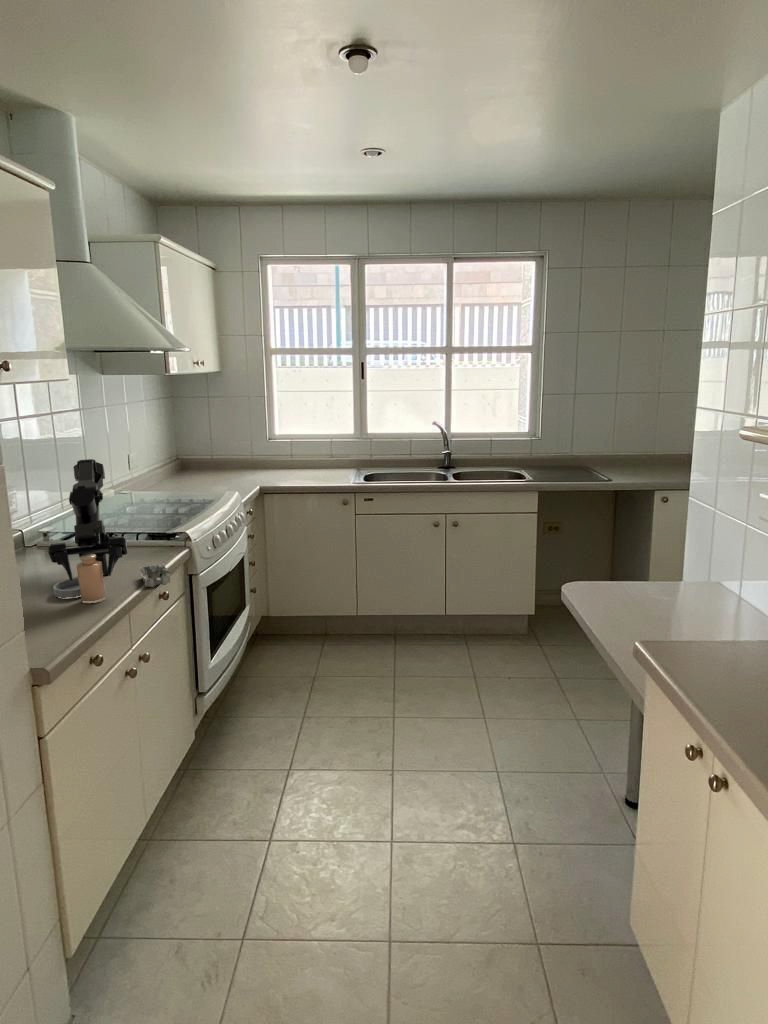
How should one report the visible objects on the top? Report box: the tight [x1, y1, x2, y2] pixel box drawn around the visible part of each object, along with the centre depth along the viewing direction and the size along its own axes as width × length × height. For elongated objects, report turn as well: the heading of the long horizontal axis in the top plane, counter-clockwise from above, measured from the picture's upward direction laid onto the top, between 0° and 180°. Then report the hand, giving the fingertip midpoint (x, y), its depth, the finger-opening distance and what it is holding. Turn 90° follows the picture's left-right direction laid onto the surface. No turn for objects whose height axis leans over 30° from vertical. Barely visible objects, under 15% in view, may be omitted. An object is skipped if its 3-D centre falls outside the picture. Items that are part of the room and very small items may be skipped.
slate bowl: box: [52, 576, 81, 598], centre depth 183 cm, size 10×10×2 cm
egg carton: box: [139, 564, 171, 588], centre depth 191 cm, size 11×8×4 cm
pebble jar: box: [76, 554, 107, 602], centre depth 176 cm, size 6×6×12 cm
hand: (90, 577), depth 174 cm, fingers open, 9 cm apart
